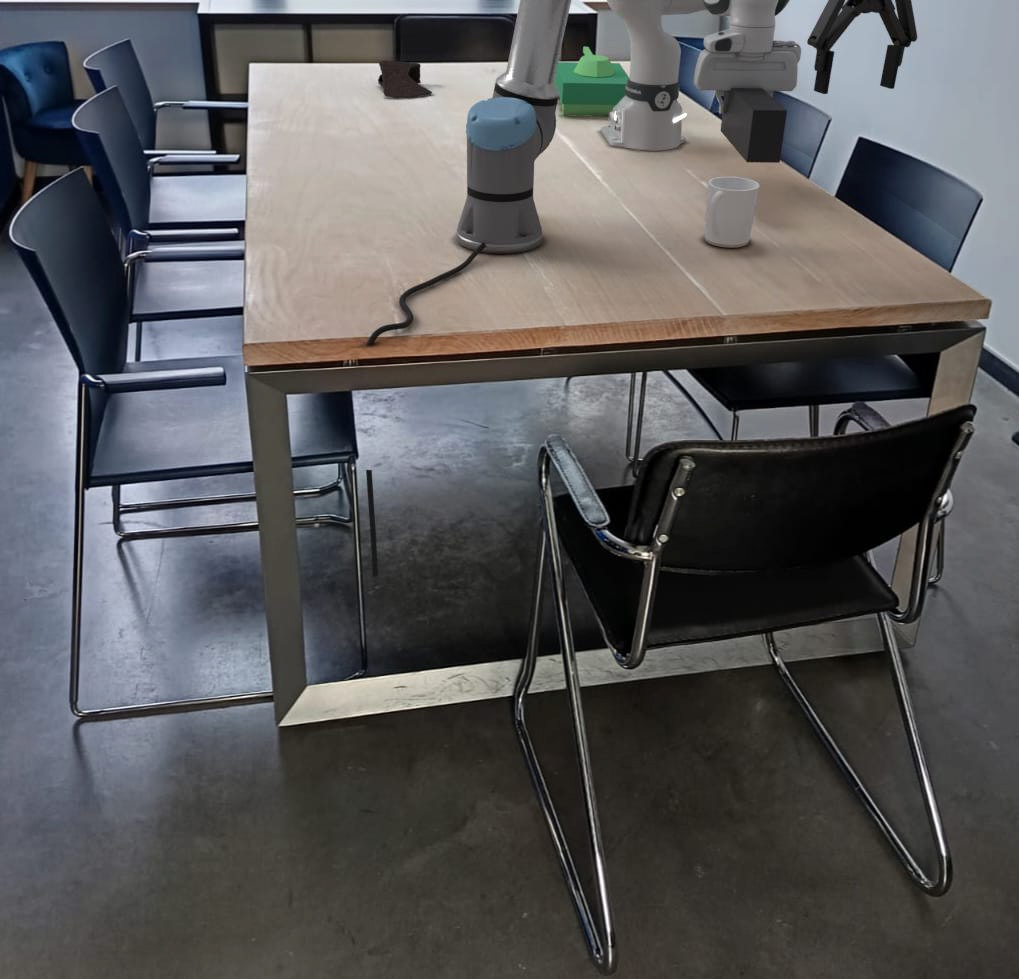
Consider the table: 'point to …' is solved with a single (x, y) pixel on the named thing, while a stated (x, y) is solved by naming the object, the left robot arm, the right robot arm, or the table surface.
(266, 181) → the table surface
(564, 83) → the toy tank
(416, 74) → the axe head
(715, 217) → the mug
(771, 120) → the box
